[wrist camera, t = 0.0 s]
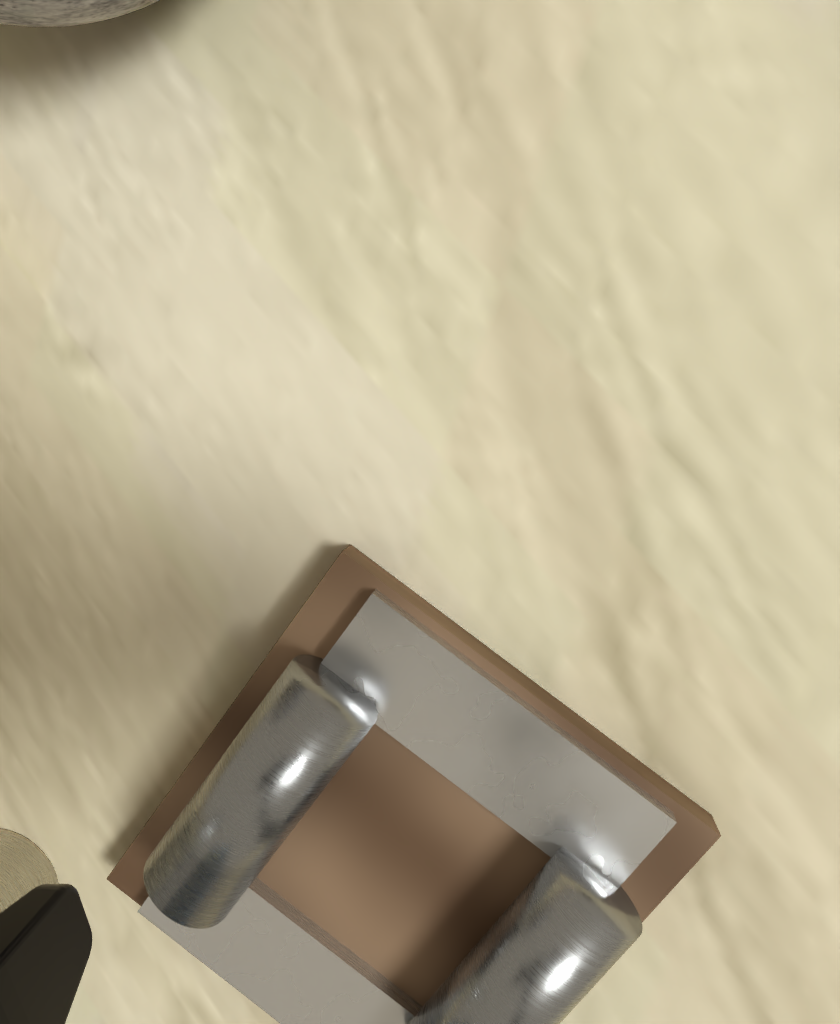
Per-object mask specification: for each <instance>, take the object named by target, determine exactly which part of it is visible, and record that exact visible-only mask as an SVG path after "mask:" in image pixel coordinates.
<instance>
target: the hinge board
mask: <svg viewBox="0 0 840 1024" xmlns="http://www.w3.org/2000/svg"><path fill="white" fill-rule="evenodd" d="M376 589H377V590H378V591H380V592H381V593H382V594H384V595H385V596H386V597H388V598H389V599H390V600H392V601H393V602H394V603H396V604H397V605H398V606H400V607H401V608H402V609H404V610H405V611H406V612H408V613H409V614H410V615H412V616H413V617H414V618H416V619H417V620H418V621H420V622H421V623H422V624H424V625H425V626H426V627H428V628H429V629H430V630H432V631H433V632H434V633H435V634H437V635H438V636H439V637H441V638H442V639H443V640H445V641H446V642H447V643H449V644H450V645H451V646H453V647H454V648H455V649H457V650H458V651H459V652H461V653H462V654H463V655H465V656H466V657H467V658H469V659H470V660H471V661H473V662H474V663H475V664H477V665H478V666H479V667H481V668H482V669H483V670H485V671H486V672H487V673H489V674H490V675H491V676H493V677H494V678H495V679H497V680H498V681H499V682H501V683H502V684H503V685H505V686H506V687H507V688H509V689H510V690H511V691H513V692H514V693H515V694H517V695H518V696H519V697H521V698H522V699H523V700H525V701H526V702H527V703H529V704H530V705H531V706H533V707H534V708H535V709H537V710H538V711H539V712H541V713H542V714H543V715H545V716H546V717H547V718H549V719H550V720H551V721H553V722H554V723H555V724H557V725H558V726H559V727H561V728H562V729H563V730H565V731H566V732H567V733H569V734H570V735H571V736H573V737H574V738H575V739H577V740H578V741H579V742H581V743H582V744H583V745H584V746H586V747H587V748H588V749H590V750H591V751H592V752H594V753H595V754H596V755H598V756H599V757H600V758H602V759H603V760H604V761H606V762H607V763H608V764H610V765H611V766H612V767H614V768H615V769H616V770H618V771H619V772H620V773H622V774H623V775H624V776H626V777H627V778H628V779H630V780H631V781H632V782H634V783H635V784H636V785H638V786H639V787H640V788H642V789H643V790H644V791H646V792H647V793H648V794H650V795H651V796H652V797H654V798H655V799H656V800H658V801H659V802H660V803H662V804H663V805H664V806H666V807H667V808H668V809H670V810H671V811H672V812H673V813H674V816H675V819H676V822H677V823H676V824H675V825H674V826H673V828H672V829H671V830H670V831H669V832H668V833H667V834H666V835H665V836H664V838H663V839H662V840H661V841H660V842H659V843H658V844H657V845H656V847H655V848H654V849H653V850H652V851H651V852H650V853H649V854H648V855H647V857H646V858H645V859H644V860H643V861H642V862H641V863H640V864H639V866H638V867H637V868H636V869H635V870H634V871H633V872H632V873H631V874H630V876H629V877H628V878H627V879H626V880H625V881H624V882H623V883H622V885H621V887H622V888H623V889H624V891H625V892H626V893H627V895H628V896H629V898H630V899H631V901H632V902H633V904H634V906H635V907H636V909H637V911H638V914H639V916H640V919H641V922H643V921H644V920H645V919H646V918H647V916H648V915H649V914H650V913H651V912H652V911H653V910H654V909H655V908H656V907H657V905H658V904H659V903H660V902H661V901H662V900H663V899H664V898H665V897H666V896H667V895H668V893H669V892H670V891H671V890H672V889H673V888H674V887H675V886H676V885H677V884H678V882H679V881H680V880H681V879H682V878H683V877H684V876H685V875H686V874H687V873H688V872H689V870H690V869H691V868H692V867H693V866H694V865H695V864H696V863H697V862H698V861H699V859H700V858H701V857H702V856H703V855H704V854H705V853H706V852H707V851H708V850H709V849H710V847H711V846H712V845H713V844H714V843H715V842H716V841H717V840H718V839H719V838H720V836H721V835H720V833H719V830H718V828H717V826H716V824H715V822H714V819H713V817H712V815H711V814H709V813H708V812H707V811H705V810H704V809H703V808H701V807H700V806H699V805H697V804H696V803H695V802H693V801H692V800H691V799H689V798H688V797H687V796H685V795H684V794H683V793H681V792H680V791H679V790H677V789H676V788H675V787H673V786H672V785H671V784H669V783H668V782H667V781H665V780H664V779H663V778H661V777H660V776H659V775H657V774H656V773H655V772H653V771H652V770H651V769H649V768H648V767H647V766H645V765H644V764H643V763H641V762H640V761H639V760H637V759H636V758H635V757H633V756H632V755H631V754H629V753H628V752H627V751H625V750H624V749H623V748H621V747H620V746H619V745H617V744H616V743H615V742H613V741H612V740H611V739H609V738H608V737H607V736H605V735H604V734H603V733H601V732H600V731H599V730H597V729H596V728H595V727H593V726H592V725H591V724H589V723H588V722H587V721H585V720H584V719H583V718H581V717H580V716H579V715H577V714H576V713H575V712H573V711H572V710H571V709H569V708H568V707H567V706H565V705H564V704H563V703H561V702H560V701H559V700H557V699H556V698H555V697H553V696H552V695H551V694H549V693H548V692H547V691H545V690H544V689H543V688H541V687H540V686H539V685H537V684H536V683H535V682H533V681H532V680H531V679H529V678H528V677H527V676H526V675H524V674H523V673H522V672H520V671H519V670H518V669H516V668H515V667H514V666H512V665H511V664H510V663H508V662H507V661H506V660H504V659H503V658H502V657H500V656H499V655H498V654H496V653H495V652H494V651H492V650H491V649H490V648H488V647H487V646H486V645H484V644H483V643H482V642H480V641H479V640H478V639H476V638H475V637H474V636H472V635H471V634H470V633H468V632H467V631H466V630H464V629H463V628H462V627H460V626H459V625H458V624H456V623H455V622H454V621H452V620H451V619H450V618H448V617H447V616H446V615H444V614H443V613H442V612H440V611H439V610H438V609H436V608H435V607H434V606H432V605H431V604H430V603H428V602H427V601H426V600H424V599H423V598H422V597H420V596H419V595H418V594H416V593H415V592H414V591H412V590H411V589H410V588H408V587H407V586H406V585H404V584H403V583H402V582H400V581H399V580H398V579H396V578H395V577H394V576H392V575H391V574H390V573H388V572H387V571H386V570H384V569H383V568H382V567H380V566H379V565H378V564H376V563H375V562H374V561H372V560H371V559H370V558H368V557H367V556H366V555H364V554H363V553H362V552H360V551H359V550H358V549H356V548H355V547H354V546H352V545H350V546H349V547H347V548H346V549H345V550H343V551H342V552H341V553H340V555H339V556H338V558H337V559H336V560H335V562H334V563H333V565H332V566H331V567H330V569H329V570H328V572H327V573H326V574H325V576H324V577H323V579H322V580H321V581H320V583H319V584H318V585H317V587H316V588H315V590H314V591H313V592H312V594H311V595H310V597H309V598H308V599H307V601H306V602H305V604H304V605H303V606H302V608H301V609H300V611H299V612H298V613H297V615H296V616H295V617H294V619H293V620H292V622H291V623H290V624H289V626H288V627H287V629H286V630H285V631H284V633H283V634H282V636H281V637H280V638H279V640H278V641H277V642H276V644H275V645H274V647H273V648H272V649H271V651H270V652H269V654H268V655H267V656H266V658H265V659H264V661H263V662H262V663H261V665H260V666H259V668H258V669H257V670H256V672H255V673H254V674H253V676H252V677H251V679H250V680H249V681H248V683H247V684H246V686H245V687H244V688H243V690H242V691H241V693H240V694H239V695H238V697H237V698H236V699H235V701H234V702H233V704H232V705H231V706H230V708H229V709H228V711H227V712H226V713H225V715H224V716H223V718H222V719H221V720H220V722H219V723H218V725H217V726H216V727H215V729H214V730H213V731H212V733H211V734H210V736H209V737H208V738H207V740H206V741H205V743H204V744H203V745H202V747H201V748H200V750H199V751H198V752H197V754H196V755H195V756H194V758H193V759H192V761H191V762H190V763H189V765H188V766H187V768H186V769H185V770H184V772H183V773H182V775H181V776H180V777H179V779H178V780H177V782H176V783H175V784H174V786H173V787H172V788H171V790H170V791H169V793H168V794H167V795H166V797H165V798H164V800H163V801H162V802H161V804H160V805H159V807H158V808H157V809H156V811H155V812H154V813H153V815H152V816H151V818H150V819H149V820H148V822H147V823H146V825H145V826H144V827H143V829H142V830H141V832H140V833H139V834H138V836H137V837H136V839H135V840H134V841H133V843H132V844H131V845H130V847H129V848H128V850H127V851H126V852H125V854H124V855H123V857H122V858H121V859H120V861H119V862H118V864H117V865H116V866H115V868H114V869H113V870H112V872H111V873H110V875H109V876H108V877H107V880H109V881H110V882H111V883H112V884H114V885H115V886H116V887H117V888H119V889H120V890H121V891H123V892H124V893H125V894H126V895H128V896H129V897H130V898H132V899H133V900H134V901H135V902H137V903H138V904H139V905H140V906H142V905H143V903H144V902H145V901H146V899H147V898H148V897H149V895H148V893H147V891H146V888H145V885H144V879H143V871H144V866H145V863H146V861H147V859H148V857H149V856H150V854H151V853H152V852H153V850H154V849H155V848H156V846H157V845H158V843H159V842H160V841H161V839H162V838H163V837H164V835H165V834H166V832H167V831H168V830H169V828H170V827H171V826H172V824H173V823H174V821H175V820H176V819H177V817H178V816H179V815H180V813H181V812H182V810H183V809H184V808H185V806H186V805H187V804H188V802H189V801H190V799H191V798H192V797H193V795H194V794H195V793H196V791H197V790H198V788H199V787H200V786H201V784H202V783H203V782H204V780H205V779H206V777H207V776H208V775H209V773H210V772H211V771H212V769H213V768H214V766H215V765H216V764H217V762H218V761H219V760H220V758H221V757H222V755H223V754H224V753H225V751H226V750H227V749H228V747H229V746H230V744H231V743H232V742H233V740H234V739H235V738H236V736H237V735H238V734H239V732H240V731H241V729H242V728H243V727H244V725H245V724H246V723H247V721H248V720H249V718H250V717H251V716H252V714H253V713H254V712H255V710H256V709H257V707H258V706H259V705H260V703H261V702H262V701H263V699H264V698H265V696H266V695H267V694H268V692H269V691H270V690H271V688H272V687H273V685H274V684H275V683H276V681H277V680H278V679H279V677H280V676H281V674H282V673H283V672H284V670H285V669H286V668H287V666H288V665H289V663H290V662H291V661H292V659H293V658H294V657H296V656H298V655H303V654H307V655H313V656H317V657H320V658H322V659H324V658H325V657H326V655H327V654H328V653H329V651H330V650H331V649H332V647H333V646H334V645H335V643H336V642H337V640H338V639H339V638H340V636H341V635H342V634H343V632H344V631H345V630H346V628H347V627H348V626H349V624H350V623H351V621H352V620H353V619H354V617H355V616H356V615H357V613H358V612H359V611H360V609H361V608H362V607H363V605H364V604H365V602H366V601H367V600H368V598H369V597H370V596H371V594H372V593H373V592H374V591H375V590H376ZM550 858H551V857H550V856H548V855H547V854H546V853H544V852H543V851H542V850H541V849H539V848H538V847H537V846H535V845H534V844H533V843H531V842H530V841H529V840H527V839H526V838H525V837H523V836H522V835H521V834H519V833H518V832H517V831H516V830H514V829H513V828H512V827H510V826H509V825H508V824H506V823H505V822H504V821H502V820H501V819H500V818H498V817H497V816H496V815H494V814H493V813H492V812H491V811H489V810H488V809H487V808H485V807H484V806H483V805H481V804H480V803H479V802H477V801H476V800H475V799H473V798H472V797H471V796H469V795H468V794H467V793H466V792H464V791H463V790H462V789H460V788H459V787H458V786H456V785H455V784H454V783H452V782H451V781H450V780H448V779H447V778H446V777H444V776H443V775H442V774H441V773H439V772H438V771H437V770H435V769H434V768H433V767H431V766H430V765H429V764H427V763H426V762H425V761H423V760H422V759H421V758H419V757H418V756H417V755H416V754H414V753H413V752H412V751H410V750H409V749H408V748H406V747H405V746H404V745H402V744H401V743H400V742H398V741H397V740H396V739H394V738H393V737H392V736H391V735H389V734H388V733H387V732H385V731H384V730H383V729H381V728H380V727H379V726H377V725H376V724H374V725H373V726H372V728H371V729H370V730H369V732H368V733H367V734H366V735H365V737H364V738H363V739H362V741H361V742H360V743H359V745H358V746H357V747H356V748H355V750H354V751H353V752H352V754H351V755H350V756H349V758H348V759H347V760H346V761H345V763H344V764H343V765H342V767H341V768H340V769H339V771H338V772H337V773H336V774H335V776H334V777H333V778H332V780H331V781H330V782H329V784H328V785H327V786H326V787H325V789H324V790H323V791H322V793H321V794H320V795H319V797H318V798H317V799H316V800H315V802H314V803H313V804H312V806H311V807H310V808H309V810H308V811H307V812H306V813H305V815H304V816H303V817H302V819H301V820H300V821H299V823H298V824H297V825H296V826H295V828H294V829H293V830H292V832H291V833H290V834H289V836H288V837H287V838H286V839H285V841H284V842H283V843H282V845H281V846H280V847H279V848H278V850H277V851H276V852H275V854H274V855H273V856H272V858H271V859H270V860H269V862H268V863H267V864H266V865H265V867H264V868H263V869H262V871H261V872H260V873H259V875H258V876H257V878H258V879H259V880H261V881H262V882H263V883H264V884H266V885H267V886H268V887H270V888H271V889H272V890H273V891H275V892H276V893H277V894H279V895H280V896H281V897H282V898H284V899H285V900H286V901H288V902H289V903H290V904H292V905H293V906H294V907H295V908H297V909H298V910H299V911H301V912H302V913H303V914H304V915H306V916H307V917H308V918H310V919H311V920H312V921H313V922H315V923H316V924H317V925H319V926H320V927H321V928H322V929H324V930H325V931H326V932H328V933H329V934H330V935H332V936H333V937H334V938H335V939H337V940H338V941H339V942H341V943H342V944H343V945H344V946H346V947H347V948H348V949H350V950H351V951H352V952H353V953H355V954H356V955H357V956H359V957H360V958H361V959H362V960H364V961H365V962H366V963H368V964H369V965H370V966H372V967H373V968H374V969H375V970H377V971H378V972H379V973H381V974H382V975H383V976H384V977H386V978H387V979H388V980H390V981H391V982H392V983H393V984H395V985H396V986H397V987H399V988H400V989H401V990H402V991H404V992H405V993H406V994H408V995H409V996H410V997H412V998H413V999H414V1000H415V1001H417V1002H418V1003H419V1004H421V1005H422V1006H424V1004H425V1003H426V1002H427V1001H428V1000H429V999H430V998H431V996H432V995H433V994H434V993H435V992H436V991H437V989H438V988H439V987H440V986H441V985H442V984H443V982H444V981H445V980H446V979H447V978H448V977H449V975H450V974H451V973H452V972H453V971H454V970H455V969H456V967H457V966H458V965H459V964H460V963H461V962H462V960H463V959H464V958H465V957H466V956H467V955H468V953H469V952H470V951H471V950H472V949H473V948H474V946H475V945H476V944H477V943H478V942H479V941H480V940H481V938H482V937H483V936H484V935H485V934H486V933H487V931H488V930H489V929H490V928H491V927H492V926H493V924H494V923H495V922H496V921H497V920H498V919H499V918H500V916H501V915H502V914H503V913H504V912H505V911H506V909H507V908H508V907H509V906H510V905H511V904H512V902H513V901H514V900H515V899H516V898H517V897H518V895H519V894H520V893H521V892H522V891H523V890H524V889H525V887H526V886H527V885H528V884H529V883H530V882H531V880H532V879H533V878H534V877H535V876H536V875H537V873H538V872H539V871H540V870H541V869H542V868H543V867H544V865H545V864H546V863H547V862H548V861H549V860H550Z"/></svg>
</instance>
